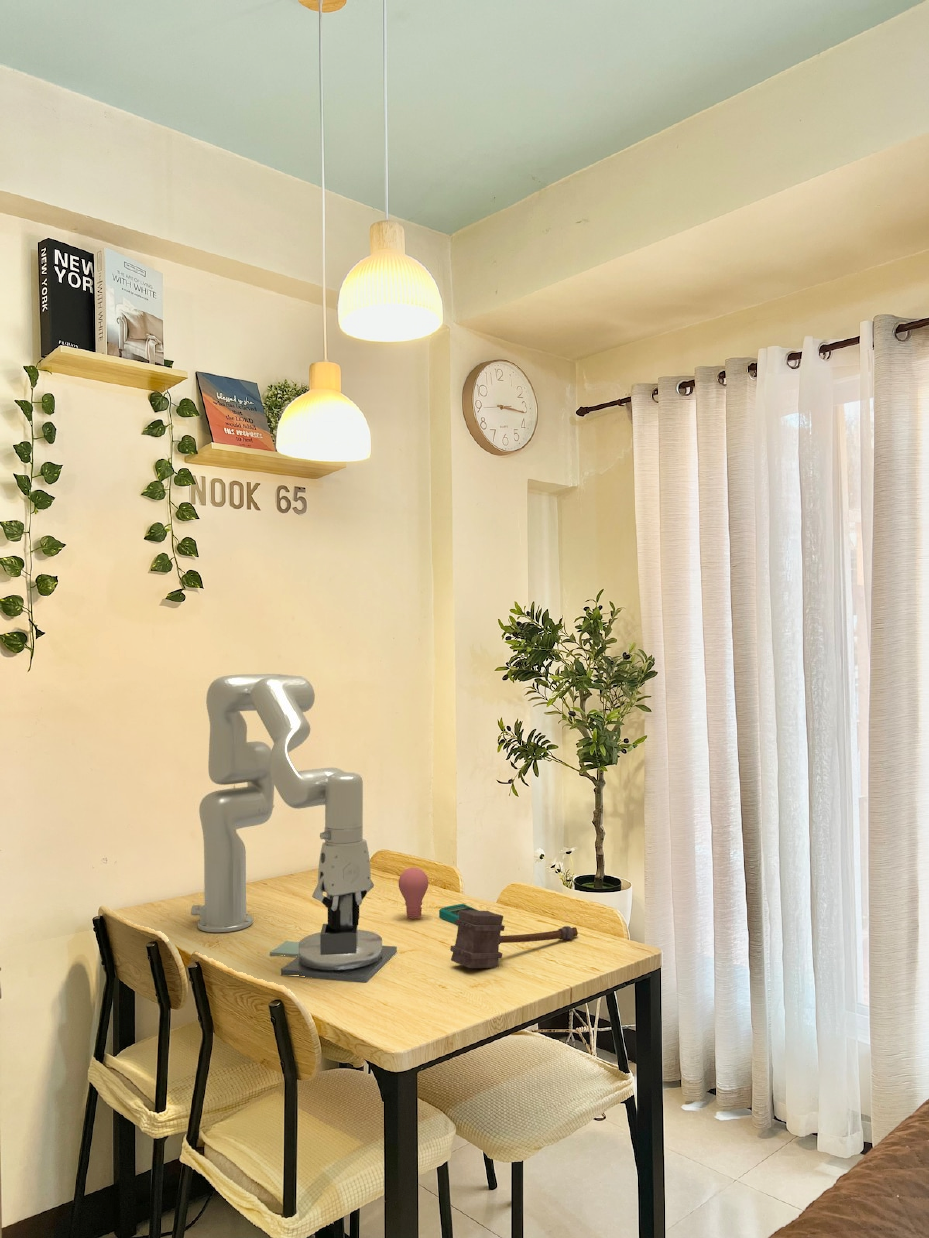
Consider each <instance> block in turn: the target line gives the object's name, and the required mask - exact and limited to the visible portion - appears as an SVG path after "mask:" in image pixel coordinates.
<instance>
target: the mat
mask: <svg viewBox="0 0 929 1238" xmlns="http://www.w3.org/2000/svg"><path fill="white" fill-rule="evenodd" d="M299 942H300V941H290V940H285V941H283V943H281V944H279V945H278V946H277V947H275V948H274V949H272V950H271V951H270V952H269V956H275V955H283V956H282V957H288V956H297V957H298V956H299ZM284 955H285V956H284Z"/></svg>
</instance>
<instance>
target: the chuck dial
mask: <svg viewBox="0 0 929 1238" xmlns="http://www.w3.org/2000/svg"><path fill="white" fill-rule="evenodd" d="M298 942H299V961H300V963H302V964H303V965H305V966H307V967H311V968H315V969H322V970H345V969H353V968H358V967H362V966H366V965H369V964H371V963H374V962H376V961H377V960H379V959H380V958H381V956H382V946H383V937H381V935H380V934H378V933H376V932H373V931H371V930H370V931H369V930H364V929H358V925H357V926H355V925H353V930H352V932H335V930H334V929H332V928H330V927H329V925H328V923H322V927H321V930H320V932H319V931H318V932H316V933H313V934H310V935H307V936H306V937H304V938H301V940H300V941H298Z"/></svg>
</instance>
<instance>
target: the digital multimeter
mask: <svg viewBox="0 0 929 1238" xmlns="http://www.w3.org/2000/svg"><path fill="white" fill-rule="evenodd" d="M460 910H470V911H480V910H479V909H477V908H473V907H471V906H470V905H467V904H465V903H460V904H454V905H448V906H444V907H441V908H439V910H438V911H439V912H438V917H439V919H441V920H444V921H446V920H447V921H446V922H448V921H449V923H451V924H453V925H456V926H458V925H457V924H455V919H459V911H460Z"/></svg>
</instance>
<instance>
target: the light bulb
mask: <svg viewBox="0 0 929 1238" xmlns="http://www.w3.org/2000/svg"><path fill="white" fill-rule="evenodd" d="M398 889H399V891H400V894H401V895H402V898H403V899H404V901H405V902H404V905H405V906H406V909H405V911H406V917H407V918H411V919H413V918H415V919H417V918H420V917H422V911H423V910H422V905H423V899H424V897H425V895H426V893H427V891H428V889H429V878H428V876H427V874H426V873H425V871H423V870H422V869H421V868H418V867H409V868H407V869H405V870H404V871H402V873H401V874H400V876H399V877H398Z"/></svg>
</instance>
